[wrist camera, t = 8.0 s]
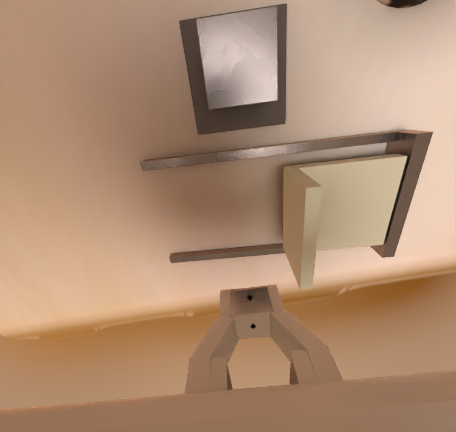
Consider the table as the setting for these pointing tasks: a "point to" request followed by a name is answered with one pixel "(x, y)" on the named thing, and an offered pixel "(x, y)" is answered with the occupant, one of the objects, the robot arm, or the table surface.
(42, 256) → the table surface
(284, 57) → the station pad
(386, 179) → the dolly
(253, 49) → the steel block
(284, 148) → the track
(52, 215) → the table surface
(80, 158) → the table surface
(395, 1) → the white-spotted black cylinder
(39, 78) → the table surface
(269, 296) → the robot arm
